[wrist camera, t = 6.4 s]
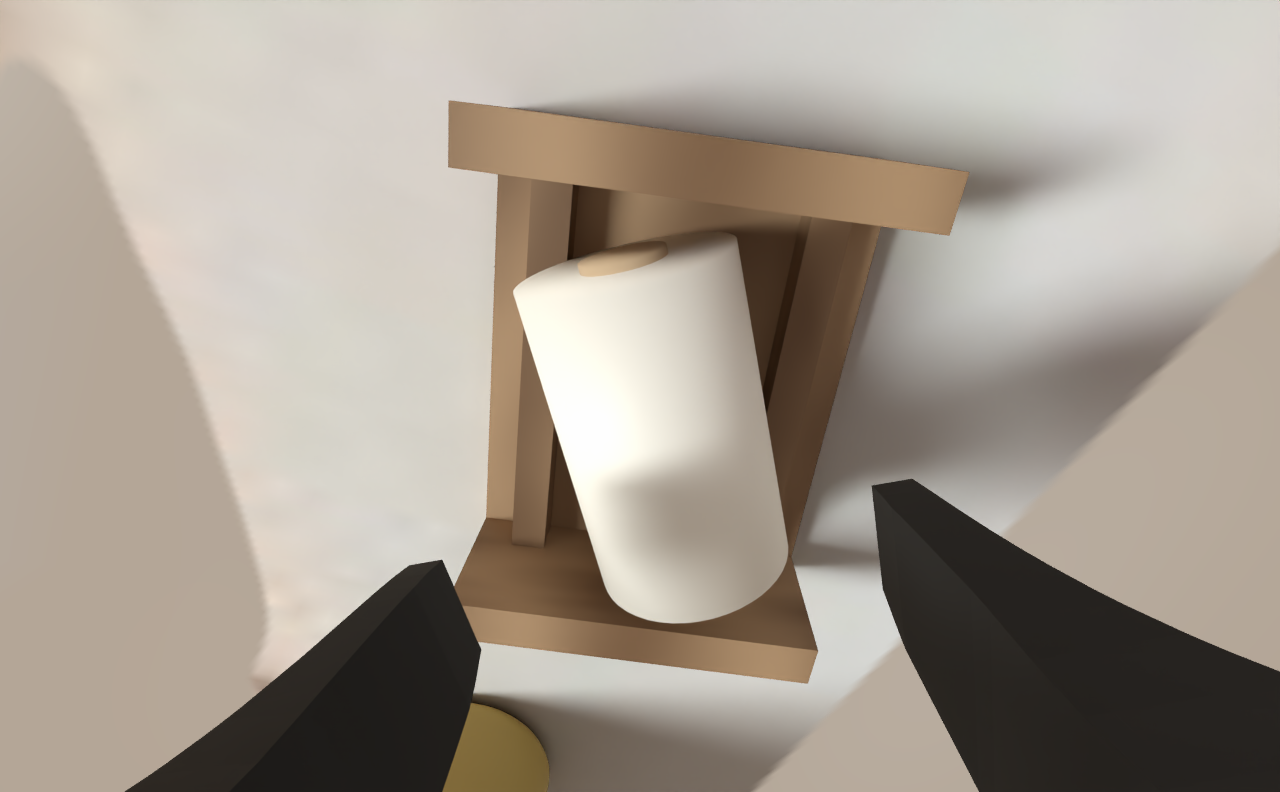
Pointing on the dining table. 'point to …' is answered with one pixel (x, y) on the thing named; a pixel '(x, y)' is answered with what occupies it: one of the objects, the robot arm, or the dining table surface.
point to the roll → (662, 421)
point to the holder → (782, 330)
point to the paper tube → (497, 755)
